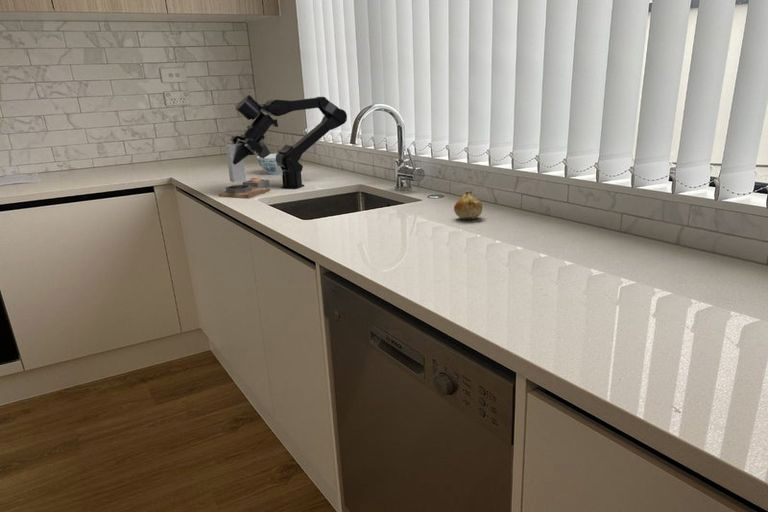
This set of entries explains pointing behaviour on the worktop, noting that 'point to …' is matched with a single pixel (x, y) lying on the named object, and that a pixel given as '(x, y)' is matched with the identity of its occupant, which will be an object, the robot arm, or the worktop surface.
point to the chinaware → (270, 164)
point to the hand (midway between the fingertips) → (231, 163)
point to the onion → (468, 206)
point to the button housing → (257, 183)
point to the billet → (235, 170)
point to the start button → (255, 179)
